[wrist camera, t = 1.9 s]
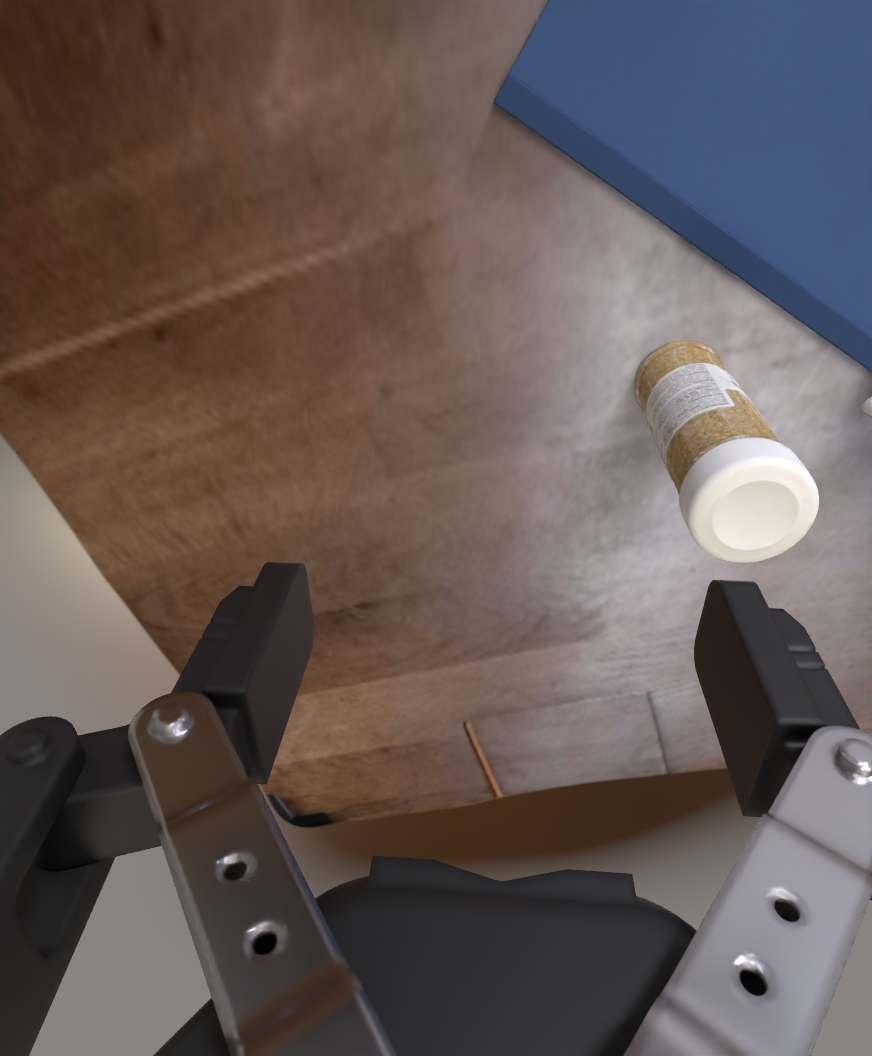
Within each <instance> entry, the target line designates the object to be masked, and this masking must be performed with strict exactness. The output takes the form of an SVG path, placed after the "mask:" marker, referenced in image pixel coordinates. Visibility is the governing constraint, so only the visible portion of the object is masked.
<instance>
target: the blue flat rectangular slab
mask: <svg viewBox="0 0 872 1056" xmlns="http://www.w3.org/2000/svg"><path fill="white" fill-rule="evenodd" d="M494 103H495V104H496V105H498V106H499V107H500V108H502V109H503V110H505V111H506V112H508V113H509V114H510V115H512V116H513V117H515V118H516V119H517V120H519V121H520V122H522V123H523V124H524V125H526V126H527V127H529V128H530V129H531V130H533V131H534V132H536V133H537V134H538V135H540V136H541V137H543V138H544V139H545V140H547V141H548V142H550V143H551V144H552V145H554V146H555V147H557V148H558V149H559V150H561V151H562V152H564V153H565V154H566V155H568V156H569V157H571V158H572V159H573V160H575V161H576V162H578V163H579V164H580V165H582V166H583V167H585V168H586V169H587V170H589V171H590V172H592V173H593V174H595V175H596V176H597V177H599V178H600V179H602V180H603V181H604V182H606V183H607V184H609V185H610V186H611V187H613V188H614V189H616V190H617V191H618V192H620V193H621V194H623V195H624V196H625V197H627V198H628V199H630V200H631V201H632V202H634V203H635V204H637V205H638V206H639V207H641V208H642V209H644V210H645V211H646V212H648V213H649V214H651V215H652V216H653V217H655V218H656V219H658V220H659V221H660V222H662V223H663V224H665V225H666V226H667V227H669V228H670V229H672V230H673V231H675V232H676V233H677V234H679V235H680V236H682V237H683V238H684V239H686V240H687V241H689V242H690V243H691V244H693V245H694V246H696V247H697V248H698V249H700V250H701V251H703V252H704V253H705V254H707V255H708V256H710V257H711V258H712V259H714V260H715V261H717V262H718V263H719V264H721V265H722V266H724V267H725V268H726V269H728V270H729V271H731V272H732V273H733V274H735V275H736V276H738V277H739V278H740V279H742V280H743V281H745V282H746V283H747V284H749V285H750V286H752V287H753V288H755V289H756V290H757V291H759V292H760V293H762V294H763V295H764V296H766V297H767V298H769V299H770V300H771V301H773V302H774V303H776V304H777V305H778V306H780V307H781V308H783V309H784V310H785V311H787V312H788V313H790V314H791V315H792V316H794V317H795V318H797V319H798V320H799V321H801V322H802V323H804V324H805V325H806V326H808V327H809V328H811V329H812V330H813V331H815V332H816V333H818V334H819V335H820V336H822V337H823V338H825V339H826V340H827V341H829V342H830V343H832V344H833V345H835V346H836V347H837V348H839V349H840V350H842V351H843V352H844V353H846V354H847V355H849V356H850V357H851V358H853V359H854V360H856V361H857V362H858V363H860V364H861V365H863V366H864V367H865V368H867V369H868V370H870V371H871V372H872V0H549V1H548V3H547V5H546V6H545V8H544V10H543V12H542V14H541V16H540V18H539V19H538V21H537V23H536V25H535V27H534V29H533V30H532V32H531V34H530V36H529V38H528V40H527V41H526V43H525V45H524V47H523V49H522V51H521V52H520V54H519V56H518V58H517V60H516V62H515V63H514V65H513V67H512V69H511V71H510V73H509V75H508V76H507V78H506V80H505V82H504V84H503V86H502V87H501V89H500V91H499V93H498V95H497V97H496V98H495V100H494Z"/></svg>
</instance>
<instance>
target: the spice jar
mask: <svg viewBox="0 0 872 1056" xmlns="http://www.w3.org/2000/svg"><path fill="white" fill-rule="evenodd" d="M635 395H636V398H637V400H638V403H639V405H640V406H641V408H642V410H643V411H644V412H645V413H646V416H647V422H648V425H649V427H650V430H651V432H652V435H653V437H654V439H655V442H656V444H657V447H658V449H659V451H660V454H661V456H662V459H663V461H664V464H665V466H666V469H667V471H668V474H669V475H670V477H671V479H672V480H673V482H674V484H675V486H676V488H677V490H678V493H679V503H680V509H681V512H682V515H683V518H684V520H685V522H686V525H687V527H688V529H689V531H690V533H691V535H692V537H693V539H694V540H695V541H696V543H697V544H698V545H699V546H700V547H701V548H702V549H703V550H704V551H706V552H707V553H709V554H710V555H712V556H714V557H716V558H719V559H722V560H725V561H730V562H739V563H748V562H757V561H761V560H765V559H768V558H771V557H774V556H776V555H779V554H781V553H782V552H784V551H786V550H788V549H789V548H791V547H792V546H794V545H795V544H796V543H797V542H798V541H799V540H801V539H802V538H803V536H804V535H805V534H806V533H807V532H808V530H809V529H810V527H811V526H812V524H813V522H814V520H815V517H816V515H817V511H818V507H819V494H818V489H817V486H816V484H815V482H814V480H813V478H812V476H811V475H810V473H809V472H808V470H807V469H806V468H805V466H804V465H803V464H802V462H801V461H800V460H799V459H798V457H797V456H796V455H795V454H794V453H793V452H792V451H791V450H790V449H789V448H787V447H786V446H785V445H783V444H780V443H779V441H778V440H777V439H776V437H775V435H774V434H773V433H772V431H771V430H770V429H769V427H768V426H767V424H766V423H765V422H764V420H763V418H762V416H761V415H760V413H759V412H758V410H757V409H756V408H755V407H754V405H753V404H752V402H751V401H750V399H749V398H748V396H747V395H746V394H745V393H744V391H743V390H742V388H741V387H740V386H739V384H738V383H737V382H736V381H735V379H734V378H733V377H732V376H731V375H730V374H729V373H728V372H727V371H726V370H725V369H724V367H723V363H722V362H721V360H720V358H719V357H718V355H717V354H716V353H715V352H714V351H713V350H712V349H711V348H710V347H708V346H705V345H703V344H701V343H698V342H691V341H679V342H671V343H669V344H667V345H665V346H663V347H661V348H659V349H657V350H656V351H655V352H653V353H652V354H651V355H650V356H649V357H648V358H647V359H646V360H645V361H644V362H643V363H642V365H641V367H640V369H639V371H638V374H637V377H636V381H635Z"/></svg>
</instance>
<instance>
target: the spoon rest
mask: <svg viewBox="0 0 872 1056" xmlns="http://www.w3.org/2000/svg"><path fill="white" fill-rule="evenodd" d="M862 409H863V410H864V412H866V413H867V414H868V415H870V416H871V417H872V396H871V397H870V398H868V399H867V400H866V401H865V402H864V403H863V404H862Z"/></svg>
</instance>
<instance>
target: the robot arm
mask: <svg viewBox="0 0 872 1056" xmlns="http://www.w3.org/2000/svg"><path fill="white" fill-rule="evenodd" d="M313 639H314V620H313V613H312V606H311V599H310V592H309V585H308V578H307V572H306V568H305V566H304V564H300V563H273V562H267V563H265V565H264V566H263V568H262V570H261V572H260V574H259V576H258V578H257V580H256V582H255V584H254V586H239V587H237V588H236V589H235V590H234V591H233V592H231V593H230V594H229V595H228V596H227V597H226V598H224V599H223V600H222V601H221V602H220V604H219V605H218V607H217V609H216V611H215V613H214V615H213V617H212V618H211V623H210V624H208V626H207V628H206V629H205V631H204V633H203V637H202V639H200V640H199V642H198V644H197V646H196V648H195V650H194V652H193V653H192V655H191V657H190V659H189V661H188V663H187V664H186V666H185V668H184V670H183V672H182V674H181V675H180V677H179V679H178V681H177V683H176V685H175V687H174V689H173V690H172V693H170V694H167V695H164V696H161V697H159V698H157V699H155V700H153V701H151V702H150V703H148V704H147V705H145V706H144V707H143V708H142V709H141V710H140V711H139V712H138V713H137V714H136V715H135V716H134V718H133V719H132V721H131V723H130V724H129V725H126V726H122V727H118V728H114V729H109V730H103V731H98V732H94V733H89V734H84V735H79V736H78V735H77V733H76V730H75V728H74V727H73V725H72V724H71V723H70V722H69V721H67V720H65V719H63V718H59V717H41V718H35V719H31V720H28V721H25V722H23V723H20V724H18V725H16V726H14V727H12V728H10V729H9V730H7V731H6V732H4V733H3V734H2V735H1V736H0V1056H29V1054H30V1052H31V1050H32V1047H33V1045H34V1043H35V1041H36V1038H37V1036H38V1034H39V1031H40V1029H41V1027H42V1024H43V1022H44V1020H45V1018H46V1015H47V1013H48V1011H49V1008H50V1006H51V1004H52V1002H53V999H54V997H55V995H56V992H57V990H58V988H59V985H60V983H61V981H62V978H63V976H64V974H65V972H66V969H67V967H68V965H69V962H70V960H71V958H72V956H73V953H74V951H75V949H76V946H77V944H78V942H79V940H80V937H81V935H82V933H83V930H84V928H85V926H86V923H87V921H88V919H89V916H90V914H91V912H92V910H93V907H94V905H95V903H96V900H97V898H98V896H99V894H100V891H101V889H102V887H103V884H104V882H105V880H106V877H107V875H108V873H109V871H110V868H111V866H112V864H113V861H114V859H115V857H116V856H120V855H125V854H128V853H133V852H137V851H141V850H145V849H150V848H154V847H158V846H162V847H163V850H164V853H165V856H166V859H167V862H168V866H169V868H170V871H171V875H172V878H173V881H174V884H175V887H176V890H177V893H178V896H179V899H180V902H181V905H182V908H183V911H184V914H185V917H186V920H187V923H188V927H189V930H190V933H191V935H192V939H193V942H194V945H195V948H196V950H197V954H198V957H199V960H200V963H201V966H202V969H203V972H204V975H205V978H206V981H207V984H208V987H209V990H210V994H211V997H212V998H211V999H210V1000H209V1001H208V1002H207V1003H206V1004H205V1005H204V1006H203V1007H202V1008H201V1009H200V1010H199V1011H198V1012H197V1013H196V1014H195V1015H194V1016H193V1017H192V1018H191V1019H190V1020H189V1021H188V1022H187V1023H186V1024H185V1025H184V1026H183V1027H181V1028H180V1029H179V1030H178V1031H177V1033H175V1035H173V1037H171V1038H170V1039H169V1040H168V1042H166V1043H165V1044H164V1045H163V1046H162V1047H161V1048H160V1049H159V1050H158V1051H157V1052H156V1053H155V1054H154V1055H153V1056H811V1054H812V1051H813V1049H814V1046H815V1044H816V1041H817V1038H818V1036H819V1033H820V1030H821V1027H822V1025H823V1022H824V1019H825V1017H826V1014H827V1012H828V1009H829V1006H830V1004H831V1001H832V998H833V996H834V993H835V991H836V988H837V985H838V983H839V980H840V977H841V974H842V972H843V969H844V967H845V964H846V961H847V959H848V956H849V953H850V951H851V948H852V946H853V943H854V940H855V938H856V935H857V932H858V930H859V927H860V924H861V922H862V919H863V916H864V914H865V911H866V908H867V906H868V903H869V901H870V900H872V735H871V734H869V733H867V732H864V731H862V730H860V728H859V727H858V725H857V723H856V721H855V719H854V718H853V716H852V714H851V712H850V710H849V708H848V707H847V705H846V703H845V701H844V699H843V697H842V696H841V694H840V692H839V690H838V688H837V686H836V685H835V683H834V681H833V679H832V677H831V675H830V674H829V672H828V670H827V669H825V664H824V663H823V661H822V659H821V657H820V655H819V653H818V652H816V651H815V646H814V644H813V642H812V641H811V639H810V637H809V635H808V633H807V631H806V630H805V628H804V627H803V626H802V625H801V624H800V623H799V622H798V621H796V620H795V619H794V618H793V617H792V616H791V615H789V614H788V613H787V612H786V611H785V610H784V609H775V608H769V607H768V605H767V603H766V601H765V599H764V597H763V595H762V593H761V591H760V589H759V587H758V586H757V584H756V583H755V582H752V581H726V580H713V581H712V582H711V583H710V585H709V587H708V591H707V595H706V599H705V603H704V607H703V611H702V615H701V619H700V623H699V627H698V631H697V635H696V639H695V645H694V661H695V668H696V672H697V675H698V678H699V681H700V684H701V688H702V691H703V694H704V697H705V700H706V703H707V706H708V709H709V712H710V715H711V718H712V722H713V725H714V728H715V731H716V734H717V737H718V740H719V743H720V746H721V749H722V752H723V756H724V759H725V762H726V765H727V768H728V771H729V774H730V777H731V780H732V783H733V786H734V790H735V792H736V796H737V799H738V802H739V805H740V808H741V811H742V814H743V816H751V817H761V819H760V820H759V822H758V824H757V825H756V827H755V829H754V831H753V832H752V834H751V836H750V838H749V840H748V841H747V843H746V845H745V847H744V848H743V850H742V852H741V854H740V856H739V857H738V859H737V861H736V863H735V864H734V866H733V868H732V870H731V871H730V873H729V875H728V877H727V879H726V880H725V882H724V884H723V886H722V887H721V889H720V891H719V893H718V894H717V896H716V898H715V900H714V902H713V904H712V905H711V907H710V909H709V911H708V912H707V914H706V916H705V918H704V919H703V921H702V923H701V925H700V926H699V928H698V930H697V931H696V930H695V929H694V928H693V927H692V926H690V925H689V924H688V923H686V922H685V921H684V920H682V919H681V918H680V917H678V916H677V915H675V914H674V913H672V912H670V911H668V910H666V909H665V908H663V907H662V906H660V905H657V904H655V903H653V902H651V901H649V900H646V899H644V898H641V897H638V896H636V894H635V888H634V882H633V876H632V874H626V873H612V872H597V871H582V870H569V869H567V870H561V871H556V872H551V873H545V874H540V875H534V876H529V877H524V878H518V879H513V880H508V881H498V880H493V879H490V878H487V877H484V876H481V875H478V874H475V873H472V872H469V871H466V870H463V869H460V868H457V867H454V866H451V865H448V864H445V863H442V862H439V861H436V860H425V859H411V858H397V857H382V856H373V857H372V863H371V869H370V875H369V876H368V877H363V878H358V879H355V880H352V881H349V882H346V883H343V884H341V885H339V886H337V887H335V888H332V889H330V890H328V891H327V892H325V893H323V894H322V895H320V896H319V897H317V898H316V899H315V898H314V897H313V894H312V892H311V890H310V888H309V887H308V884H307V882H306V880H305V878H304V876H303V874H302V872H301V870H300V869H299V866H298V864H297V862H296V860H295V858H294V856H293V854H292V852H291V850H290V848H289V846H288V844H287V842H286V840H285V838H284V836H283V834H282V832H281V830H280V828H279V826H278V824H277V822H276V820H275V818H274V816H273V814H272V812H271V810H270V808H269V806H268V804H267V802H266V800H265V798H264V796H263V794H262V792H261V790H260V788H259V786H258V784H267V781H268V778H269V775H270V773H271V770H272V767H273V764H274V761H275V758H276V755H277V752H278V749H279V746H280V743H281V740H282V737H283V734H284V731H285V728H286V725H287V722H288V719H289V716H290V713H291V710H292V707H293V704H294V701H295V698H296V695H297V692H298V690H299V687H300V684H301V681H302V678H303V675H304V672H305V669H306V666H307V663H308V660H309V657H310V654H311V651H312V646H313Z"/></svg>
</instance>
